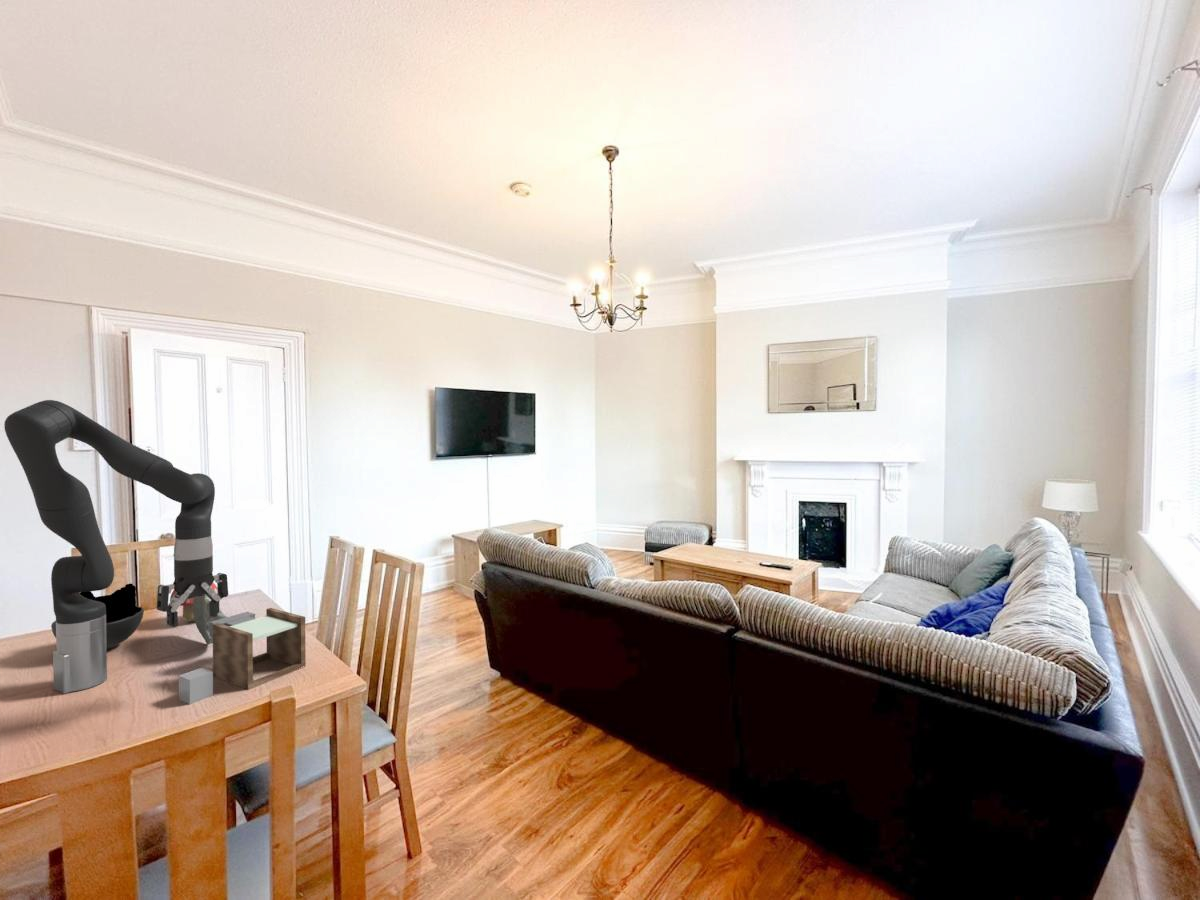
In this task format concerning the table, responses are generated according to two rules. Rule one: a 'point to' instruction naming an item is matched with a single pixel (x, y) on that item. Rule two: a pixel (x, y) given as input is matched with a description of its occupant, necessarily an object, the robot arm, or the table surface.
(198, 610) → the rock
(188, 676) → the gray block
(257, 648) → the table surface
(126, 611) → the coal bowl
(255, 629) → the trapdoor
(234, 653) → the wooden bench shelf
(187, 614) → the decorative mushroom
